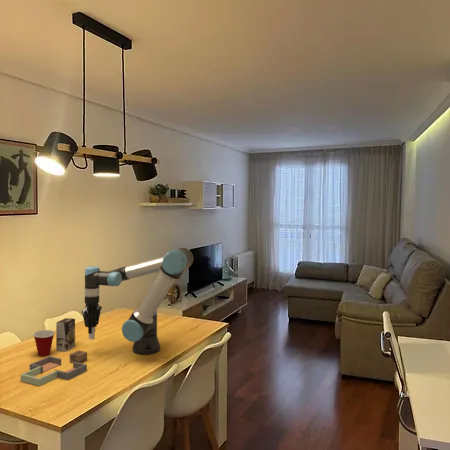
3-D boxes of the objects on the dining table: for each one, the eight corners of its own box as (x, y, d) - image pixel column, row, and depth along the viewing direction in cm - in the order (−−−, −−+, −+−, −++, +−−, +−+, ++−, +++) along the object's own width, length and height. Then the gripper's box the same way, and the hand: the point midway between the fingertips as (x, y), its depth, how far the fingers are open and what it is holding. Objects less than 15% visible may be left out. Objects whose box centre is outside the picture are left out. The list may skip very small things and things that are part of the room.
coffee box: (66, 351, 218) (66, 322, 218) (55, 350, 220) (55, 322, 219) (75, 346, 227) (75, 318, 227) (65, 345, 228) (65, 317, 228)
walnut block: (87, 360, 206) (87, 352, 206) (78, 364, 201) (78, 355, 201) (78, 358, 209) (78, 350, 208) (69, 362, 203) (69, 354, 203)
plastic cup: (41, 359, 206) (40, 337, 206) (29, 355, 212) (28, 333, 212) (59, 353, 215) (59, 331, 215) (47, 349, 221) (47, 328, 221)
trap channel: (86, 370, 193) (86, 364, 193) (49, 388, 173) (49, 382, 173) (49, 361, 204) (49, 356, 204) (10, 378, 184) (10, 371, 184)
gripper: (95, 292, 220) (95, 334, 221) (77, 297, 208) (77, 341, 209) (105, 294, 217) (105, 336, 218) (88, 298, 205) (88, 343, 206)
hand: (91, 338), depth 214 cm, fingers closed
